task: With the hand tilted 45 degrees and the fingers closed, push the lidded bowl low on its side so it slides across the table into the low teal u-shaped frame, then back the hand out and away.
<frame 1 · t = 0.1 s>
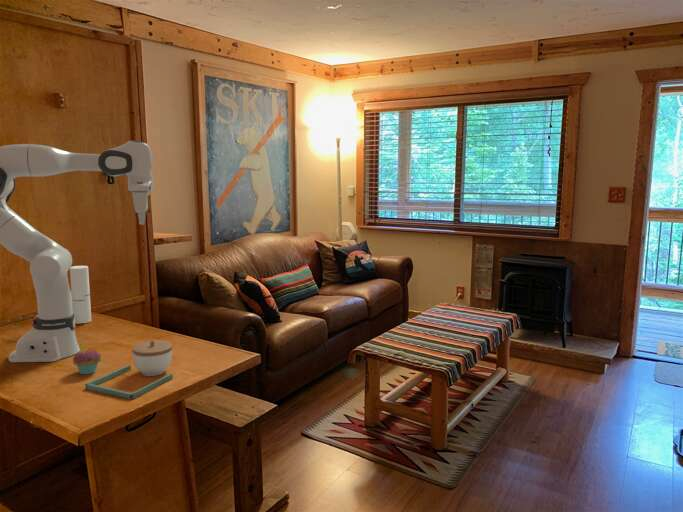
hand: (142, 223, 191), 48 cm above the table, tool pointing down, fingers open, 8 cm apart
cupcake: (87, 372, 173), on the table
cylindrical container: (82, 322, 228), on the table
lidded bowl: (153, 372, 174), on the table
teal u-shaped frame: (131, 382, 165), on the table
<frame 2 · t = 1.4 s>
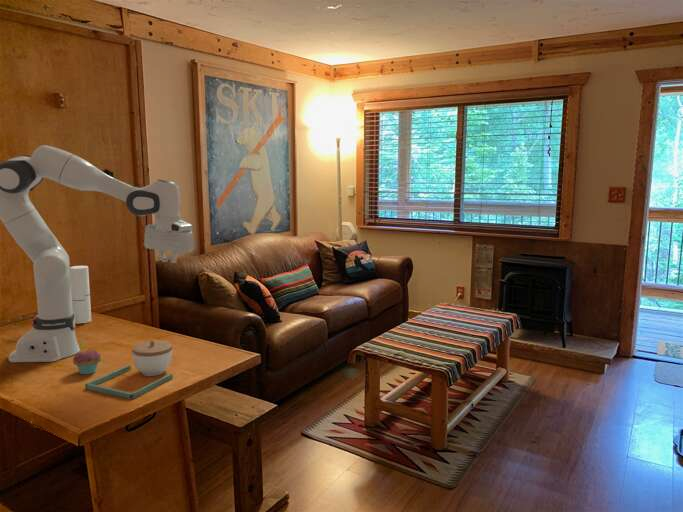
hand: (169, 262, 189), 34 cm above the table, tool pointing down, fingers open, 3 cm apart
nothing on the table moved.
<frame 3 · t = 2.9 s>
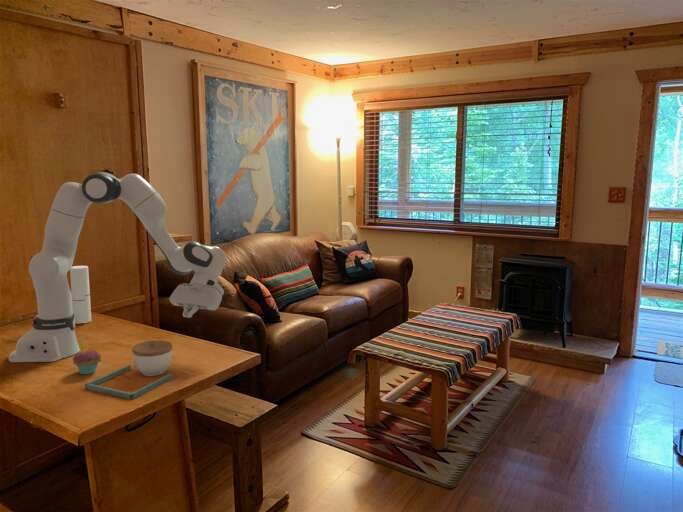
hand: (186, 316, 187), 15 cm above the table, tool tilted 45°, fingers closed
nothing on the table moved.
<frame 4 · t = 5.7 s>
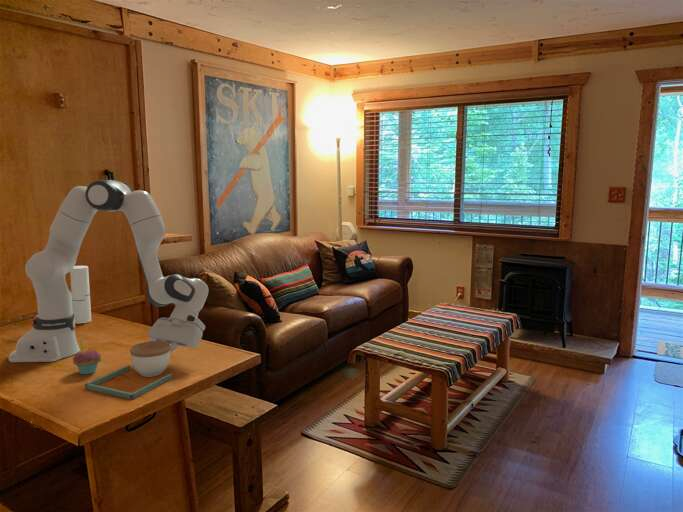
hand: (164, 354, 178), 4 cm above the table, tool tilted 45°, fingers closed, pressing on lidded bowl
lidded bowl: (151, 373, 173), on the table, touching gripper
everything else where it was.
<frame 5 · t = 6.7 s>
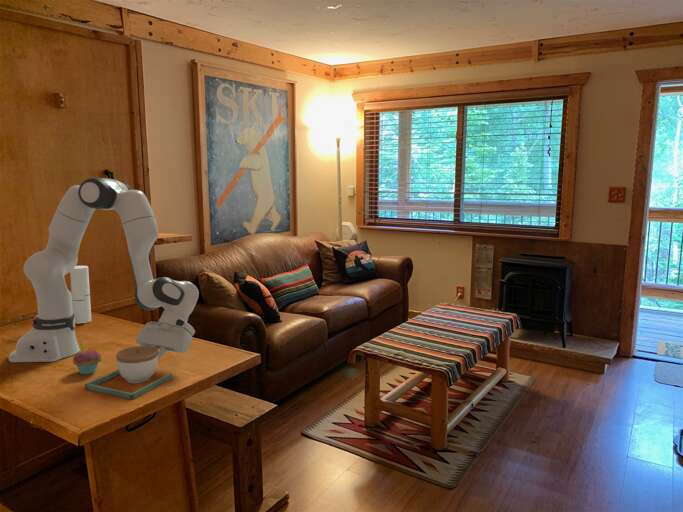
hand: (152, 359, 173), 4 cm above the table, tool tilted 45°, fingers closed, pressing on lidded bowl
lidded bowl: (138, 379, 168), on the table, touching gripper
everything else where it was.
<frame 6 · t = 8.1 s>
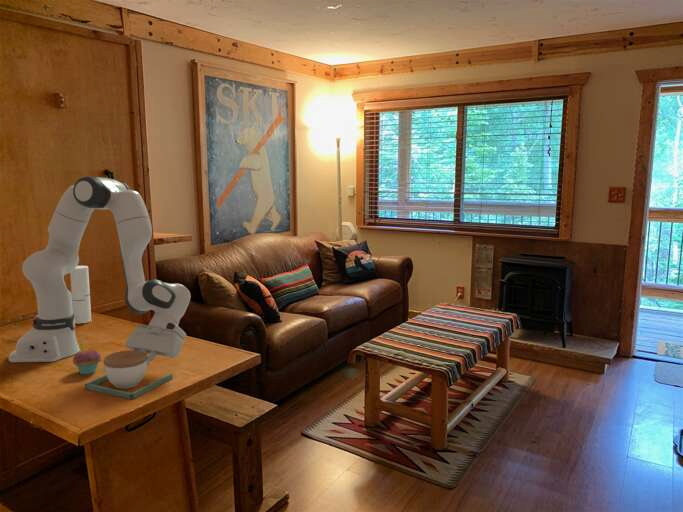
hand: (142, 364, 169), 4 cm above the table, tool tilted 45°, fingers closed, pressing on lidded bowl
lidded bowl: (127, 384, 163), on the table, touching gripper
everything else where it was.
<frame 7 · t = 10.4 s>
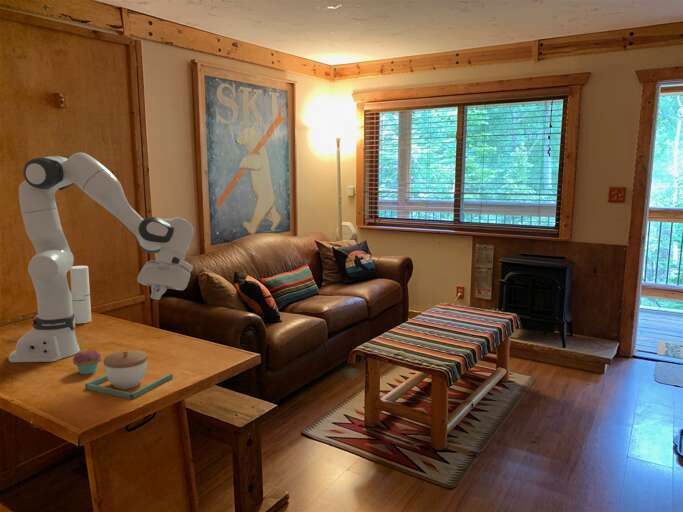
hand: (154, 298, 175), 24 cm above the table, tool tilted 30°, fingers closed
lidded bowl: (126, 385, 163), on the table
everything else where it was.
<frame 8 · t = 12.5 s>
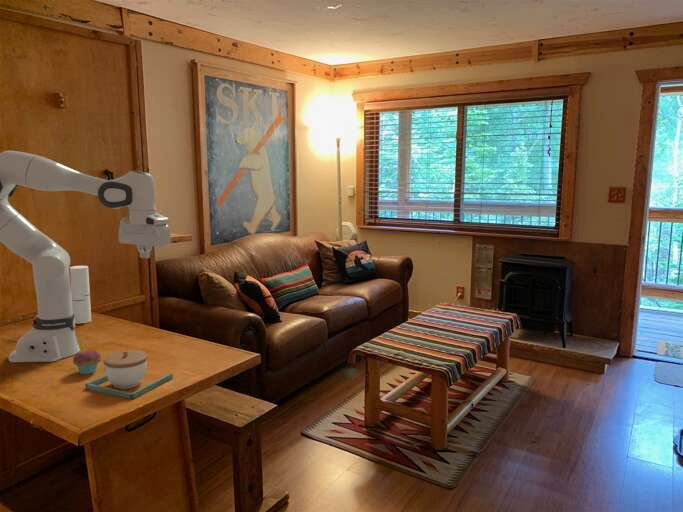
hand: (144, 257, 179), 37 cm above the table, tool pointing down, fingers closed
nothing on the table moved.
at the end: lidded bowl 1.5 cm from the teal u-shaped frame (horizontally); lidded bowl tilted 0°; lidded bowl moved 11.5 cm from its start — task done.
